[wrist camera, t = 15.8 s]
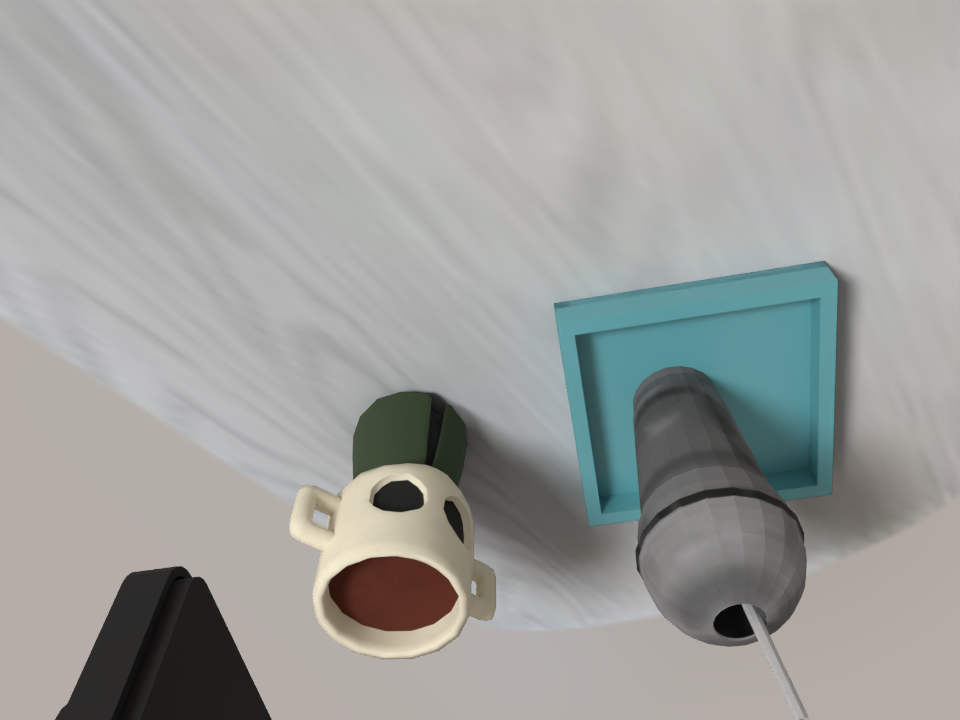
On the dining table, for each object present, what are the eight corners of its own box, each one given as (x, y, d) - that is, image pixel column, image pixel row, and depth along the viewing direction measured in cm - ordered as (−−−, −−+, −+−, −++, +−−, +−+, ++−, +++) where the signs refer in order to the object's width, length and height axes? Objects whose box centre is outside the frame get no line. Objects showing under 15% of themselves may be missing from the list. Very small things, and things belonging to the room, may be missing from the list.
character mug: (527, 430, 52) (538, 606, 41) (461, 511, 55) (455, 694, 44) (355, 341, 49) (317, 506, 38) (296, 432, 52) (245, 609, 41)
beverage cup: (612, 342, 48) (679, 651, 31) (752, 343, 48) (897, 654, 31) (601, 453, 52) (656, 781, 35) (731, 454, 52) (849, 783, 35)
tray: (824, 261, 46) (837, 280, 44) (820, 470, 53) (831, 494, 51) (553, 303, 47) (556, 324, 45) (585, 501, 54) (588, 526, 53)
